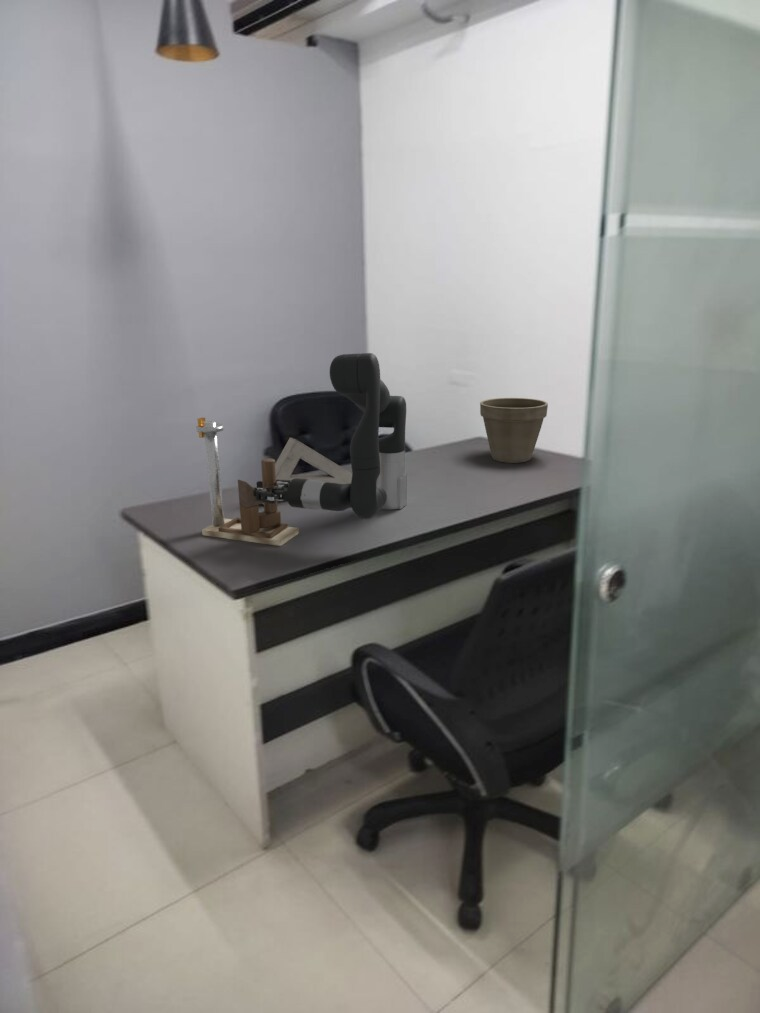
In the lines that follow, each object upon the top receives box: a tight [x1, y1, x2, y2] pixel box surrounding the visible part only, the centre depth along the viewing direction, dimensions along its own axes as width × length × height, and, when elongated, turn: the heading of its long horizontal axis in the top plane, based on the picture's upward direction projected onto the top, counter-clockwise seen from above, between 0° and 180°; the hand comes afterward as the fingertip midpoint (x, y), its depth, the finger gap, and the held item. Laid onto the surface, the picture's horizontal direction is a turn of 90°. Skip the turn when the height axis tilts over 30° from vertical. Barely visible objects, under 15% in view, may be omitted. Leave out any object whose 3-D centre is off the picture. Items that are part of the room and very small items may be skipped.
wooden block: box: [237, 457, 282, 534], centre depth 179 cm, size 4×11×18 cm, turn 138°
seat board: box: [201, 517, 300, 547], centre depth 184 cm, size 24×10×2 cm, turn 69°
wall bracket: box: [261, 436, 352, 506], centre depth 218 cm, size 22×4×30 cm
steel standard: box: [196, 417, 225, 527], centre depth 183 cm, size 7×7×31 cm
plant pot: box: [479, 397, 549, 464], centre depth 257 cm, size 25×25×22 cm
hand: (251, 487), depth 180 cm, fingers open, 5 cm apart
